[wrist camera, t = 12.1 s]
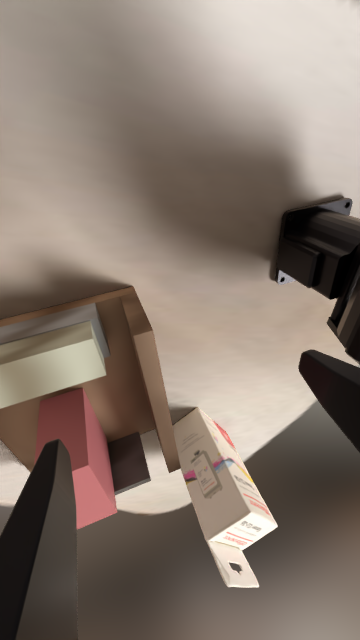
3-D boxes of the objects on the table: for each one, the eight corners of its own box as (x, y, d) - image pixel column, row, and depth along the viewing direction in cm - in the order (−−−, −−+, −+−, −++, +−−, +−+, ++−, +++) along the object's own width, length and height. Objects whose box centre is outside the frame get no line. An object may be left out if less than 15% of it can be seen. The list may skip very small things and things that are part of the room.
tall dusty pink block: (82, 387, 23) (88, 465, 18) (106, 438, 28) (117, 512, 23) (39, 401, 23) (32, 486, 17) (72, 451, 27) (73, 530, 22)
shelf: (133, 286, 21) (152, 330, 16) (163, 417, 31) (180, 468, 26) (-75, 338, 18) (-124, 411, 13) (33, 465, 28) (26, 531, 23)
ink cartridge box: (227, 430, 37) (300, 562, 26) (198, 450, 38) (257, 589, 26) (198, 404, 32) (273, 556, 20) (164, 428, 32) (220, 591, 21)
